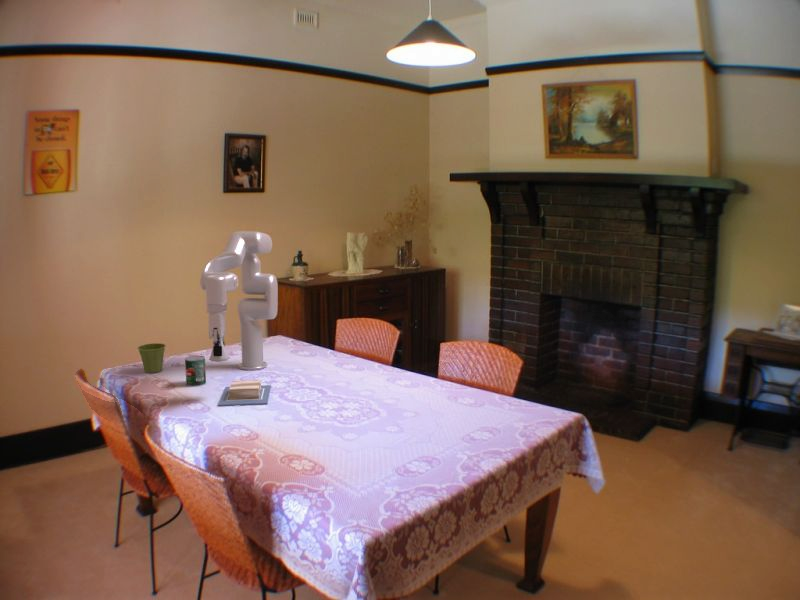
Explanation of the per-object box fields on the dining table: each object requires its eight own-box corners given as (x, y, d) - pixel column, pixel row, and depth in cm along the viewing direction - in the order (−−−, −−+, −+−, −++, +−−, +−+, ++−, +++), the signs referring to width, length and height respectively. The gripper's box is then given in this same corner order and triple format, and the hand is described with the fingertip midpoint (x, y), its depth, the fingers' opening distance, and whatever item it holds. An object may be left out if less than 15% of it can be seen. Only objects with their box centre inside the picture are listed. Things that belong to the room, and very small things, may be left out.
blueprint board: (225, 388, 262) (225, 386, 262) (270, 386, 265) (270, 384, 264) (218, 406, 241) (217, 404, 241) (267, 404, 243) (267, 402, 243)
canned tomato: (182, 385, 266) (180, 359, 264) (194, 380, 273) (192, 354, 271) (198, 387, 263) (197, 361, 262) (210, 381, 271) (208, 356, 269)
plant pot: (140, 368, 290) (138, 344, 288) (168, 366, 293) (166, 342, 291) (137, 376, 279) (136, 350, 277) (166, 373, 282) (165, 348, 280)
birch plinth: (232, 390, 257) (232, 381, 257) (261, 389, 259) (260, 380, 258) (229, 399, 246) (229, 389, 246) (258, 398, 248) (258, 388, 247)
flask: (205, 360, 249) (204, 335, 247) (219, 356, 255) (218, 331, 253) (219, 363, 245) (218, 337, 243) (233, 358, 251) (231, 333, 250)
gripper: (211, 303, 254) (213, 348, 258) (202, 312, 238) (205, 360, 241) (230, 303, 255) (232, 348, 258) (223, 312, 238) (225, 359, 242)
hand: (219, 353), depth 250 cm, fingers closed on flask, 5 cm apart
